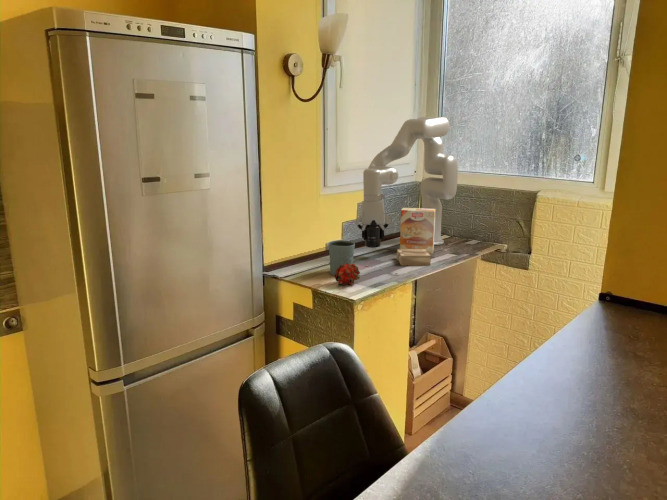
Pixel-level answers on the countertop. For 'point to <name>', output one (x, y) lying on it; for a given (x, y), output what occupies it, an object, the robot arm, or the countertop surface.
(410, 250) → the base
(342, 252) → the grey-green cup
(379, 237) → the supplement bottle
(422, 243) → the coffeecake box
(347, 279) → the dragon fruit
